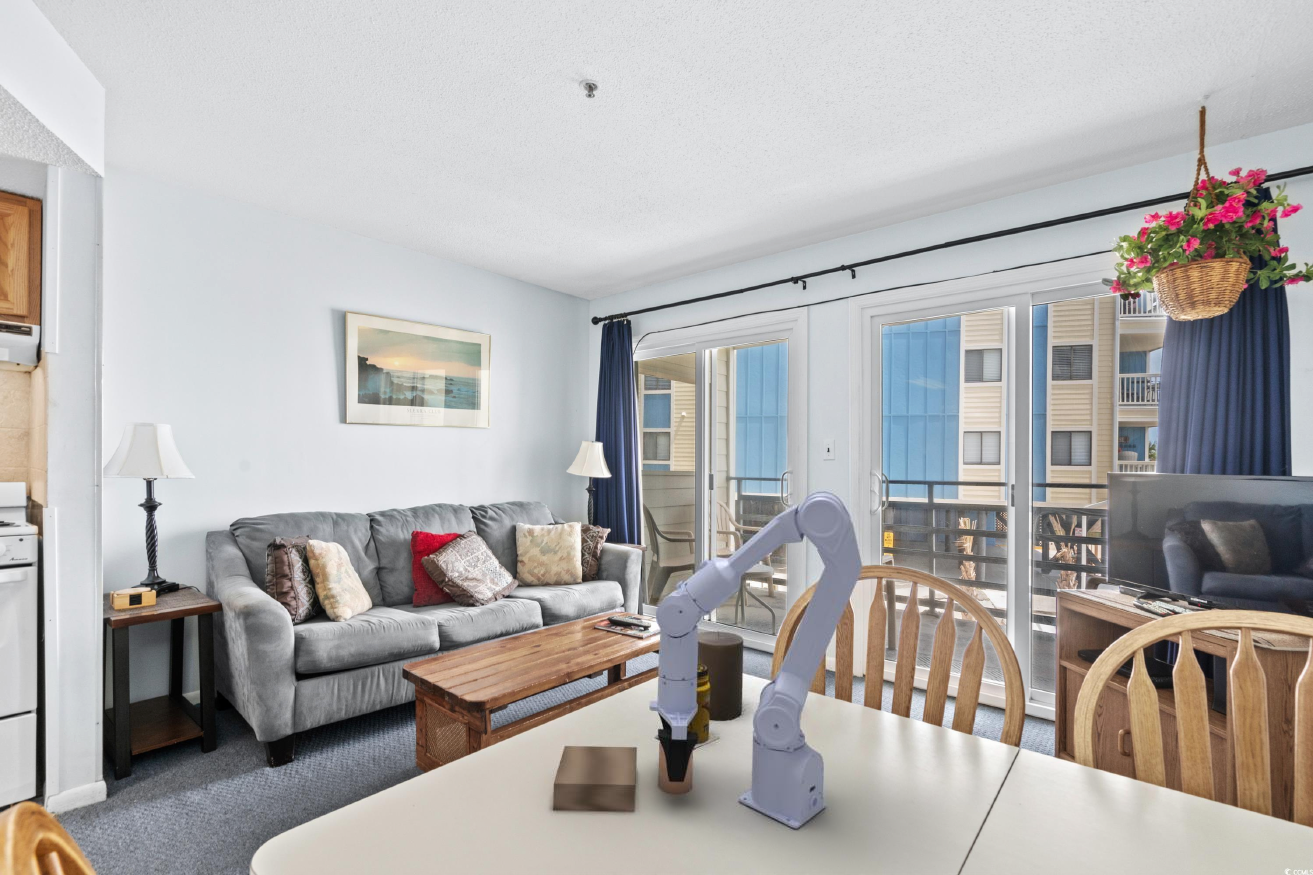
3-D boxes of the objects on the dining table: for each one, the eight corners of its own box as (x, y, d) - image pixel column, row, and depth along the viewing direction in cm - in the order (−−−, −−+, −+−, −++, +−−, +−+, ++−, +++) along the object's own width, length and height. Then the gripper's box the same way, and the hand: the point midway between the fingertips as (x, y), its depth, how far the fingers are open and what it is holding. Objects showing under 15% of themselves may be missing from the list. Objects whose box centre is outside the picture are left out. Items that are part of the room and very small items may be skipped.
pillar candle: (739, 723, 116) (741, 639, 117) (685, 716, 118) (688, 634, 119) (744, 703, 126) (746, 626, 126) (695, 697, 128) (697, 621, 128)
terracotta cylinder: (699, 785, 94) (700, 744, 95) (676, 798, 91) (677, 755, 91) (673, 773, 98) (674, 733, 98) (651, 785, 94) (652, 743, 94)
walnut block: (636, 773, 98) (636, 747, 98) (634, 814, 87) (634, 784, 87) (564, 772, 98) (564, 745, 98) (553, 813, 87) (553, 783, 87)
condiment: (719, 738, 110) (721, 667, 110) (685, 753, 104) (687, 679, 105) (688, 724, 116) (690, 657, 116) (654, 738, 110) (656, 667, 110)
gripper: (650, 657, 102) (647, 743, 102) (651, 692, 87) (648, 792, 87) (694, 658, 102) (692, 744, 102) (703, 693, 87) (700, 793, 87)
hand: (675, 766), depth 94 cm, fingers open, 7 cm apart
